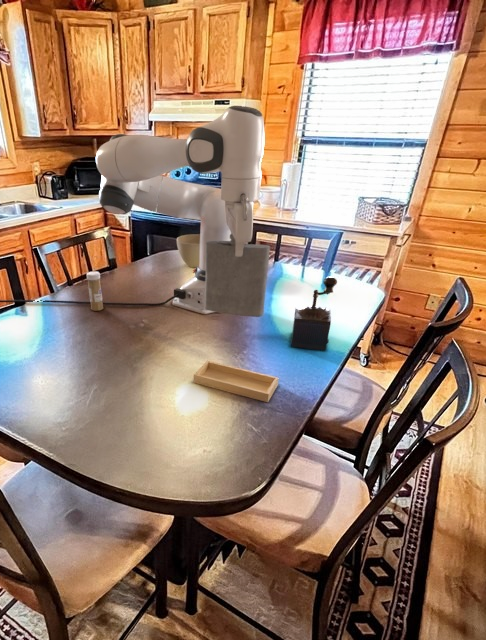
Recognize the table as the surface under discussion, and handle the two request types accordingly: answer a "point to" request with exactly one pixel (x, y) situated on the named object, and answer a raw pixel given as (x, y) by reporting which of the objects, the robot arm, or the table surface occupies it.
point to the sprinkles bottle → (95, 290)
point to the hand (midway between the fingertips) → (236, 252)
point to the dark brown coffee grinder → (313, 322)
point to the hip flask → (236, 278)
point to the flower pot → (189, 249)
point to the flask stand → (236, 380)
